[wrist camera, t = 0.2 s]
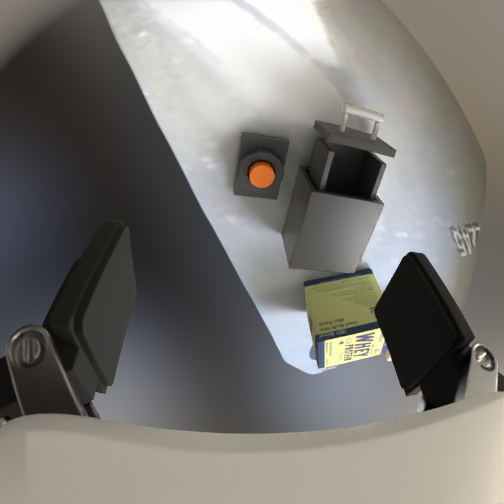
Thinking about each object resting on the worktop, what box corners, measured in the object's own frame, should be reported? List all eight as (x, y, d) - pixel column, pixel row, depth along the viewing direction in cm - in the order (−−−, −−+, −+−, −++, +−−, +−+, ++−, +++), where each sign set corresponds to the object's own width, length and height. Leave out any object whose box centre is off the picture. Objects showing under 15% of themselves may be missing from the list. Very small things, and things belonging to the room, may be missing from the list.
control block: (242, 132, 41) (242, 138, 39) (287, 139, 42) (291, 145, 40) (233, 190, 47) (233, 199, 45) (275, 195, 48) (278, 204, 46)
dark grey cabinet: (299, 166, 45) (311, 191, 38) (362, 178, 47) (384, 204, 39) (282, 235, 53) (289, 268, 46) (340, 241, 55) (354, 273, 48)
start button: (251, 159, 41) (251, 163, 40) (275, 162, 42) (276, 167, 40) (247, 181, 43) (247, 186, 42) (270, 184, 44) (272, 189, 42)
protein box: (301, 281, 61) (315, 342, 49) (371, 267, 59) (397, 323, 47) (305, 312, 67) (317, 369, 55) (368, 299, 66) (388, 352, 54)
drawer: (321, 94, 37) (336, 102, 31) (382, 111, 38) (405, 123, 33) (297, 192, 47) (306, 215, 41) (354, 201, 48) (369, 224, 43)
